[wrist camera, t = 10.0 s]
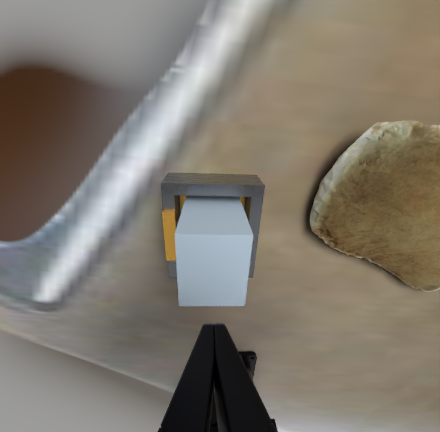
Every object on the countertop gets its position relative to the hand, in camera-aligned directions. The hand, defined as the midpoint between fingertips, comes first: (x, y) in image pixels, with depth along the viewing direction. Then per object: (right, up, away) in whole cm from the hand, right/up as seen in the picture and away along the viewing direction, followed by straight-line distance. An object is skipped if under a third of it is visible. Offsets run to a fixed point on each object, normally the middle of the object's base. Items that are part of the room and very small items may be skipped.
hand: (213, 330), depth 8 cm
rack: (0, +4, +10) cm, 11 cm away
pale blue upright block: (0, +4, +9) cm, 10 cm away
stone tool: (+19, +4, +11) cm, 23 cm away
